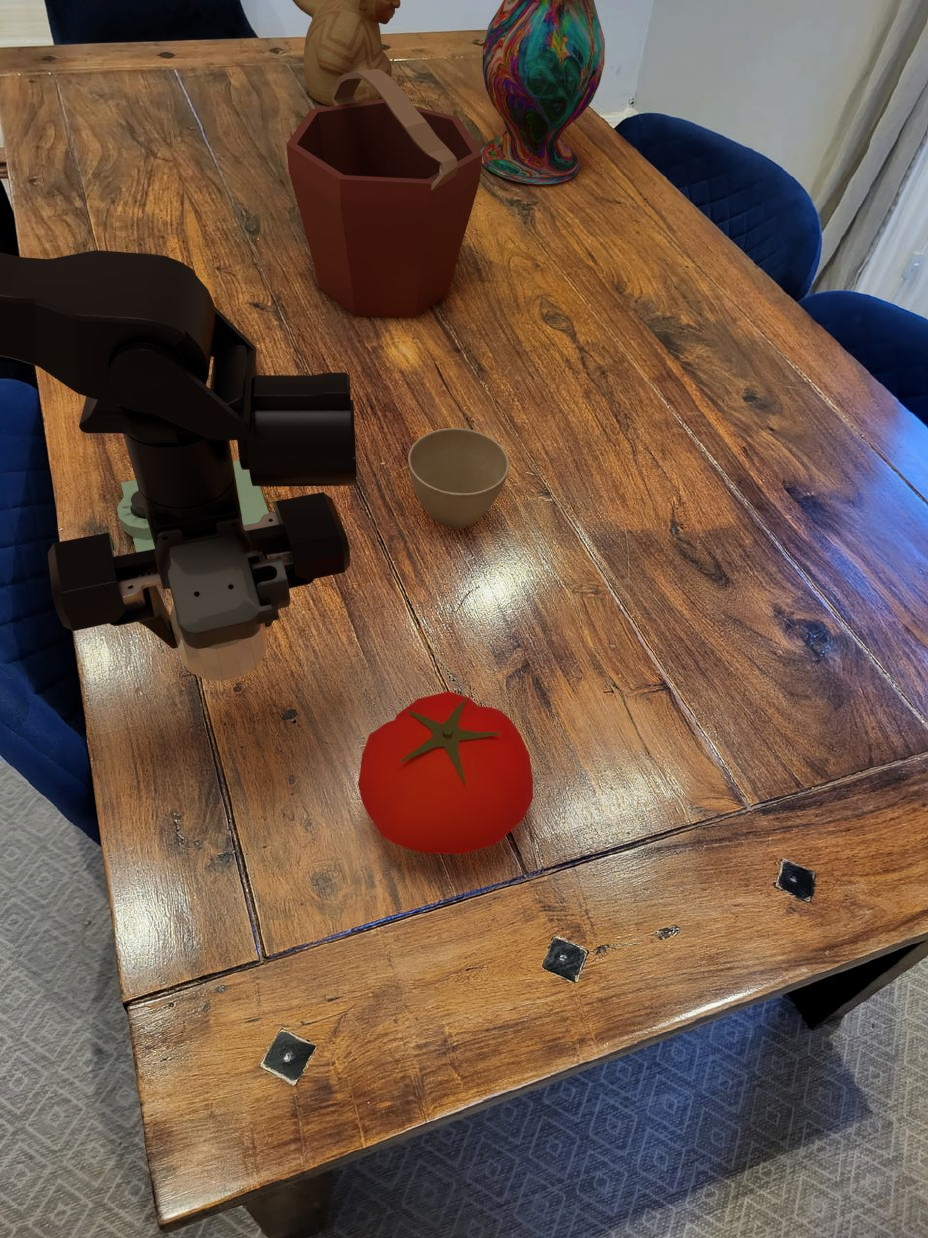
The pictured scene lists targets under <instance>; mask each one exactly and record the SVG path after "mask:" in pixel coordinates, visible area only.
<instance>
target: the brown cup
mask: <svg viewBox="0 0 928 1238" xmlns="http://www.w3.org/2000/svg"><path fill="white" fill-rule="evenodd" d="M407 456H408V457H407V462H408V464H407V465H408V470H409V471H408V472H409V475H410V480H411V482H412V483H411V484H412V486H413V489H414V492H415V494H416V496H417V499H418V500H419V503H420V504H421V506H422V508H423V509H424V510H425V512H426V513H427V514H428V516H429V517H430V518H431V519H432V520H433V521H434V522H435V523H436V524H437V525H439V526H441V527H444V528H447V529H454V530H456V529H459V530H460V529H465V528H468V527H470V526H471V525H473V524H474V523H476V522H477V521H479V520H480V518H482V517H483V516H484V515H485V514H486V513H487V512H488V510H489V509H490V508H491V507H492V505H494V503H495V501H496V499H497V498H498V496H499V495H500V493H501V491H502V489H503V488H504V485H505V483H506V480H507V477H508V474H509V470H510V459H509V458H510V457H509V455H508V454H507V452H506V450H505V448H504V447H503V446H502V445H501V444H500V443H499V442H498V441H497V440H495V439H494V438H492V437H491V436H489V435H487V434H485V433H483V432H480V431H477V430H473V429H471V428H470V429H469V428H463V427H446V428H445V427H444V428H440V429H435V430H432V431H430V432H428V433H425V434H423V435H421V437H419V438H418V439H417V440H416V441H414V443H413V444H412V445H411V447H410V449H409V451H408V455H407Z"/></svg>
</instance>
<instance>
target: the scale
mask: <svg viewBox="0 0 928 1238" xmlns="http://www.w3.org/2000/svg"><path fill="white" fill-rule="evenodd" d="M233 465H234V471H235V477H236V483H237V490H238V496H239V502H240V508H241V514H242V521H243V525H248V524H253V523H258V522H260V520H261V518H262V516H264V515H265V514H268V513H270V510H269V508H268V505H267V503H266V500H265V498H264V495H263V492H262V488H261V486H252V483H251V478H250V473H249V470H242V469H241V466H240V461H239V459H237V460H233ZM120 485H121V490H122V494H123V497H121V498H122V499H121V500H120V502H119V503H118V505H117V507H116V510H117V515H118V519H119V523H120V526H121V529H122V530H123V531H124V532H125V533H127V535H129V536H131V537H132V540H133V544H134V550H135V553H136V552H141V551H146V550H151V549H155V546H154V543H153V539H152V536H151V532H150V528H149V525H148V521H147V519H142V518H139V517H137V516H136V515H135V513H134V510H133V506H132V503H131V497H132V495H133V494H134V493H135V492H136V491H138V490H139V489H138V486H137V481H136V479H133V480H128V481H127V480H126V481H121V482H120Z"/></svg>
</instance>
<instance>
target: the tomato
mask: <svg viewBox="0 0 928 1238" xmlns="http://www.w3.org/2000/svg"><path fill="white" fill-rule="evenodd" d="M532 770H533V769H532V765H531V756H530V753H529V751H528V748H527V746H526V743H525V741H524V739H523V737H522V734H521V733H520V731H519V730H518V729H517V727H516V726H515V724H514V723H513V722H512V720H511V718H510V717H509V716H507V715H506V714H505V713H504V712H503V711H501V709H497V708H495V707H488V706H482V705H481V706H480V705H478V704H477V703H476V702H475V701H474V700H473V699H471V698H470V697H468V696H466V695H462V694H459V693H456V692H452V691H450V690H449V691H444V692H441V693H436V694H432V695H428V696H424V697H419V698H416V699H415V700H414V701H413V702H411V704H409V705H407V706H406V707H405V708H404V709H403V710H401V711H400V712H399V713H397V714H396V716H395V718H394V719H393V720H390V721H388V722H385V723H383V724H382V725H381V726H379V727H378V728H377V729H376V730H373V732H371V733H370V734H368V738H367V740H366V743H365V746H364V748H363V751H362V754H361V760H360V770H359V775H358V782H357V787H358V790H359V794H360V798H361V802H362V805H363V808H364V809H365V811H366V813H367V815H368V816H369V818H370V820H371V821H372V823H373V824H374V826H375V828H376V829H377V830H378V832H379V833H380V835H381V836H382V837H383V838H385V839H386V840H388V841H390V842H391V843H393V844H395V845H398V846H400V847H403V848H404V849H405V848H406V849H408V850H412V851H415V852H419V853H420V854H433V855H435V854H437V855H438V854H439V855H465V854H468V853H472V852H475V851H479V850H481V849H485V848H489V847H492V846H495V845H497V843H499V842H500V841H501V840H502V839H503V838H504V837H506V836H507V835H508V834H509V833H510V832H512V831H513V830H514V829H515V828H516V827H517V826H519V825H520V824H521V823H522V821H523V820H524V818H525V817H526V816H527V813H528V811H529V808H530V806H531V804H532V802H533V799H534V778H533V771H532Z"/></svg>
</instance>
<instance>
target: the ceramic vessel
mask: <svg viewBox="0 0 928 1238" xmlns="http://www.w3.org/2000/svg"><path fill="white" fill-rule="evenodd" d="M291 1H292V2H293V3H294V5H295V6H296V7H297V8H298V9H299V10H300V11H302V12H303V13H304V14H306V15H307V16H308V17H310V18H311V22H310V24H309V26H308V28H307V31H306V35H305V39H304V47H303V75H304V81H305V82H304V83H305V85H306V90H307V92H308V94H309V95H310V97H311V98H312V99H313V100H314V101H316V102H317V103H320V104H322V105H325V106H327V107H330V106H334V104H333V101H332V92H333V89H334V86H335V84H336V81H337V79H338V77H340V76H342V75H343V74H345V73H351V72H358V71H365V70H372V69H380V70H382V71H383V72H385V73H386V74H388V75H389V76H390V77H391V78H392V76H393V68H392V62H391V60H390V58H389V57H388V56H387V54H386V53H385V52H384V50H383V43H382V33H381V26H380V24H382V25H388V23H389V22H390V21H391V19H393V18H394V15H395V14H396V9H399V8H400V7H401V4H402V3H401V0H291ZM354 98H355V101H356V103H358V102H365V101H372V100H379V99H381V97H380V95H379V94H378V93H377V92H376V91H375V90H374V89H373V88H372V87H371V86H370V85H369V84H367V83H366V82H364V81H363V80H361V81H360V83H359V85H358V87H357V89H356V91H355V94H354Z"/></svg>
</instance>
